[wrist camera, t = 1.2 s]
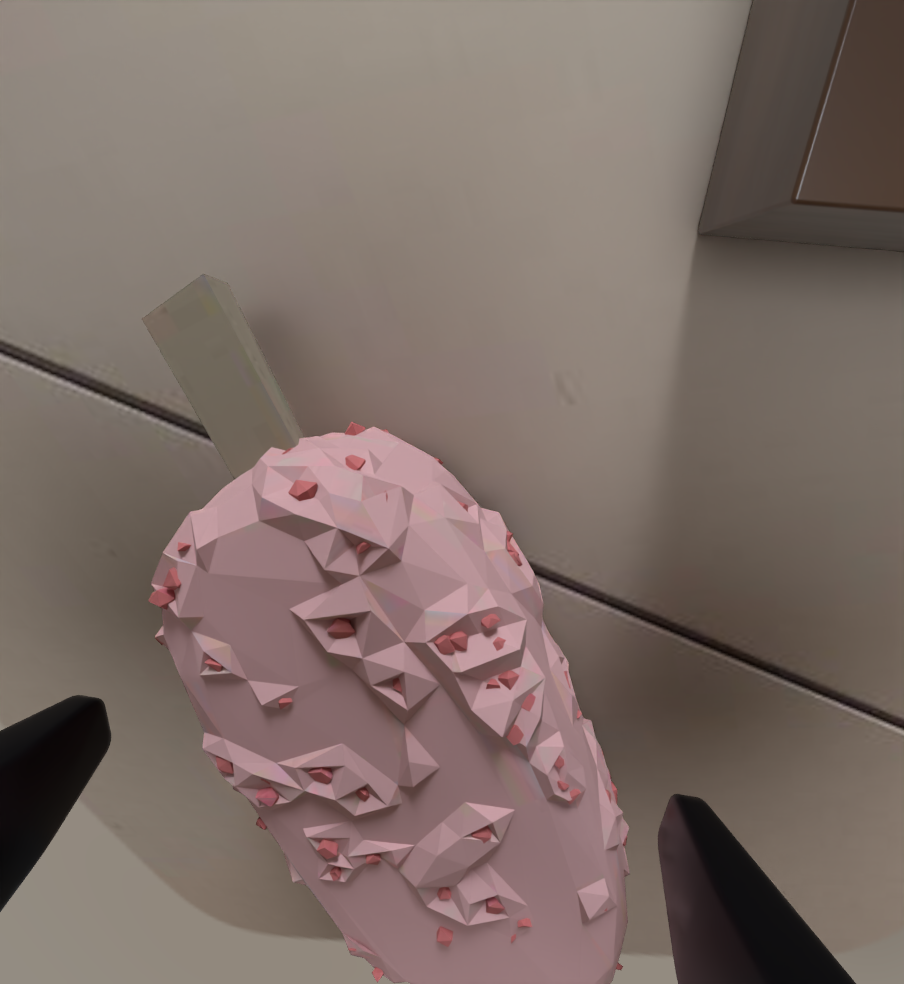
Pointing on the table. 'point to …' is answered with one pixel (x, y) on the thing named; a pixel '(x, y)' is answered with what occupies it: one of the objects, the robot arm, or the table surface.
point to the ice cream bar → (385, 686)
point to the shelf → (814, 127)
